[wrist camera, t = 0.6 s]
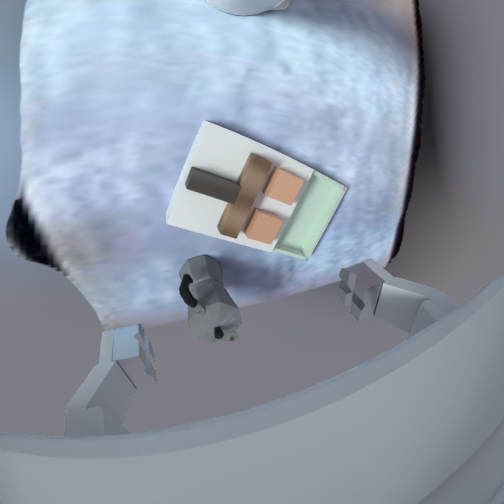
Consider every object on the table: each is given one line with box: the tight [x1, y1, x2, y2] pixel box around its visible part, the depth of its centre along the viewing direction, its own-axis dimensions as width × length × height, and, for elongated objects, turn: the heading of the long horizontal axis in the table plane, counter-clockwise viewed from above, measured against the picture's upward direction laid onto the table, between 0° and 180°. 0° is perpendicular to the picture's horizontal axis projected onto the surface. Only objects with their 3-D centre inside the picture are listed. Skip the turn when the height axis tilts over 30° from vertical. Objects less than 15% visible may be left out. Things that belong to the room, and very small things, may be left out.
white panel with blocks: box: [166, 120, 314, 253], centre depth 48 cm, size 18×21×4 cm
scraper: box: [185, 152, 272, 239], centre depth 43 cm, size 14×11×3 cm
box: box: [273, 170, 347, 261], centre depth 55 cm, size 18×10×4 cm, turn 154°
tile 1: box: [262, 166, 304, 206], centre depth 46 cm, size 5×5×2 cm
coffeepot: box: [179, 255, 242, 342], centre depth 49 cm, size 15×9×18 cm, turn 30°
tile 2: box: [243, 207, 283, 245], centre depth 49 cm, size 5×5×2 cm
